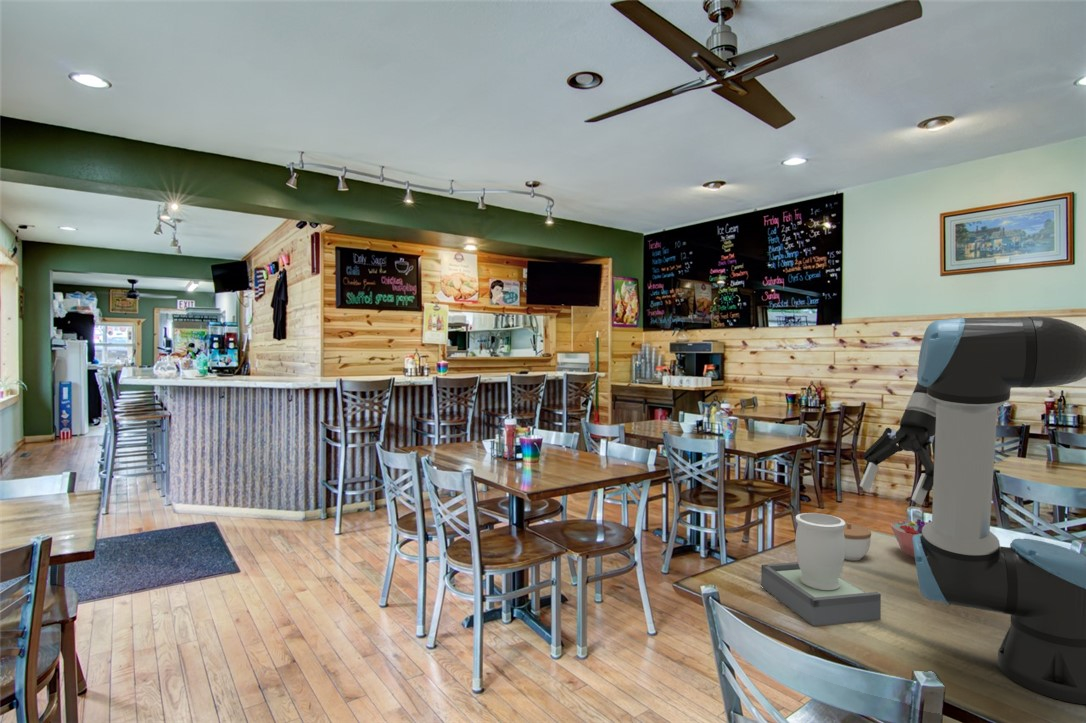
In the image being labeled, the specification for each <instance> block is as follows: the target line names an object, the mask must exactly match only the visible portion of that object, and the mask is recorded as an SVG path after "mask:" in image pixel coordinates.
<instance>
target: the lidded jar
mask: <svg viewBox="0 0 1086 723" xmlns="http://www.w3.org/2000/svg"><path fill="white" fill-rule="evenodd" d="M843 532H844V537H845V558H844V560H847V561H860V560H862V558H863V557H865V556H866V555H867V553H868V552H869V550H870V547H871V538H872V532H871V530H870V529H869V528H867V527H864V526H861V525H857V524H852V523H851V522H846V523H845V527H844V528H843Z"/></svg>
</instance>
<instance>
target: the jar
mask: <svg viewBox="0 0 1086 723" xmlns="http://www.w3.org/2000/svg"><path fill="white" fill-rule="evenodd" d="M795 522H796V523H797V526H796V531H795V539H794V540H795V541H794V542H795V545H794V546H795V552H796V556H797V557H796V558H797V562H798V564H799V568H800V570H801V572H802V575H801V577H800V580H801V582H802V583H803V584H805V585H806V586H809V587H811V588H814V589H819V590H835V589H838V588H839V587H840V582H839V581H838V578H839V577H840V578H841V574H842V572H843V568H844V562H845V559H844V558H845V537H844V532H843V528H844V527H845V524H846V521H845V520H844V519H843V518H841V517H838V516H835V515H831V514H826V513H825V514H824V513H820V512H819V513H816V512H808V513H807V512H803V513H798V514H797V515H795Z"/></svg>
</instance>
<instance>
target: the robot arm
mask: <svg viewBox="0 0 1086 723" xmlns="http://www.w3.org/2000/svg"><path fill="white" fill-rule="evenodd" d="M923 334H924V335H923V336H922V341H921V343H920V350H919V355H918V361H917V362H918V365H917V375H916V376H917V382H916V384H915V387H914V390H913V392H912V393H911V396H910V398H909V400H908V402H907V405H906V407H905V409H906V410H905V411H904V412H903V414H902V417H901V419H900V422H899V429H897V430H894V429H892V428H890V427H886V428H885V430H884V431H883V433H882V435H881V436H879V438H878V439H877V440H875V442H874V443H873V444H872V445H871V446H870V447H869V448H868V449H867V450H866V451H865V452H864V453H862V454H861V458H862V459H864V461H866V464H865V466H864V469H863V471H862V475H863V477H862V478H861V481H860V482H859V483H860V484H859V487H861V488H862V489H864V490H866V491H868V492H870V490H871V487H872V485H873V483H874V481H875V479H876V476H877V473H878V471H879V469H880V467H879V464H881V463H883V462H884V461H885V460H887V459H889V458H890V457H892V456H894V455H895V454H897V453H898V452H899V453H900V452H902V451H905V452H912V453H915V454H917V453H918V457H919V459H920V461H921V464H922V466H923V468H924V470H925V471H924V473H921V475H920V477H919V480H918V483H917V484H916V488H915V489H914V492H913V494H912V497H911V500H912V501H913V502H915V503H916V504H917V505H919V506H922V505H923V503H924V501H925V498H926V496H927V494H928V492H931V491H932V512H931V514H932V515H931V520H930V521H931V522H929V521H928V522H929V523H927V524H925V525H924V526H923V528H922V536H921V535H916V536H913V537H912V539H913V547H914V555H915V558H914V562H915V569H916V573H917V574H916V575H917V581H918V589H919V592H920V593H921V595H922V597H924V598H925V599H927V600H929V601H932V602H938V603H942V604H943V603H944V604H945V605H947V606H951V605H952V606H959V607H965V608H971V609H976V610H980V611H981V610H983V611H988V612H994V613H999V614H1006V615H1010V625H1009V627H1008V630H1007V632H1006V634H1005V636H1004V638H1003V640H1002V643H1001V645H1000V647H999V648H998V651H997V666H998V669H999V670H1000V671H1001V672H1002V673H1003V674H1004V675H1005V676H1006V677H1007V678H1009V679H1010V680H1012V681H1013V682H1014V683H1016V684H1018V685H1019V686H1022V687H1023V688H1026V689H1028V690H1031V691H1032V692H1035V693H1038V694H1041V695H1043V696H1046V697H1048V698H1052V699H1056V700H1060V701H1063V702H1068V703H1073V704H1080V705H1086V555H1083V554H1082V553H1079V552H1077V551H1075V550H1073V549H1070V548H1067V547H1063V546H1062V545H1061V546H1060V545H1057V544H1054V543H1051V542H1046V541H1042V540H1037V539H1030V538H1020V537H1019V538H1015V539H1014V538H1013V539H1012V541H1011V542H1010V545H1009V546H1001V545H1000V539H999V538H998V537H997V536H996V535H995V534H994V533H993V532H992V531H991V517H992V516H991V515H992V499H993V484H994V469H995V468H994V466H995V452H996V450H995V449H996V438H997V437H996V436H997V419H998V418H997V417H998V408H999V407H1001V406H1002V405H1004V404H1005V403H1007V402H1009V401H1010V399H1011V390H1012V388H1014V389H1015V388H1022V389H1023V388H1026V389H1027V388H1032V389H1033V388H1039V389H1040V388H1050V387H1051V388H1052V387H1056V386H1059V387H1060V386H1064V385H1069V384H1072V383H1077V382H1078V381H1080V380H1082V379H1085V378H1086V329H1085V328H1083V327H1082V326H1079V325H1077V324H1074V323H1072V322H1069V321H1066V320H1063V319H1059V318H1053V317H1049V316H1048V317H1047V316H1046V317H1045V316H1023V317H1020V316H1019V317H1017V316H1016V317H1013V316H1012V317H1008V316H1007V317H958V318H948V319H938V320H934V321H932V322H931V323H930V324H929V325H928V326H927V327H926V329H925V331H924V333H923ZM930 444H931V449H932V456H933V461H932V457H931V456H930V452H929V449H928V446H929V445H930Z"/></svg>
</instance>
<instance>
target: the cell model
mask: <svg viewBox="0 0 1086 723" xmlns="http://www.w3.org/2000/svg"><path fill="white" fill-rule="evenodd" d="M931 521H932V520H928V521H927V522H925V521H922V520H921V519H918V518H917V519H916V521H915V520H900V521H895V522H892V523H890V528H891V530H892V532H893V535H894V537H895V539H896V542H897V543H898V545H899V548H900V549H901V551H903V553H905V554H906V555H908V556H910V557H912V558H914V559H915V555H914V547H913V539H912V537H913V536H916V535H921V536H922V528H923V526H924V525H925V524H927V523H929V522H931Z"/></svg>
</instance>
